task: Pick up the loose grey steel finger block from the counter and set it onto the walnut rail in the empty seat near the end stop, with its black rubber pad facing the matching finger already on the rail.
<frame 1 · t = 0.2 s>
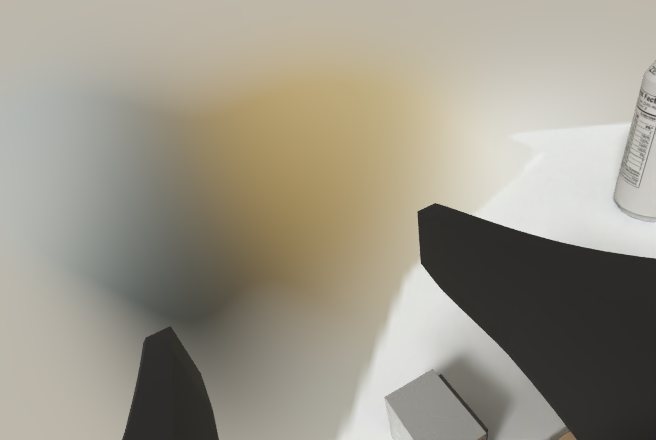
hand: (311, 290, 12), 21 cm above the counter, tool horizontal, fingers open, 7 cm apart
energy drink can: (647, 208, 43), on the counter
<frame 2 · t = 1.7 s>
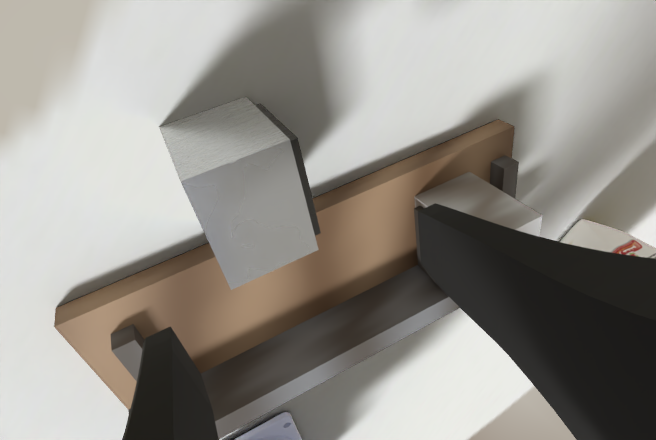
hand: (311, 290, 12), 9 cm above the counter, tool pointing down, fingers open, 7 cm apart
loose finger: (227, 161, 19), on the counter
juice carton: (560, 261, 36), on the counter
rail: (322, 258, 24), on the counter
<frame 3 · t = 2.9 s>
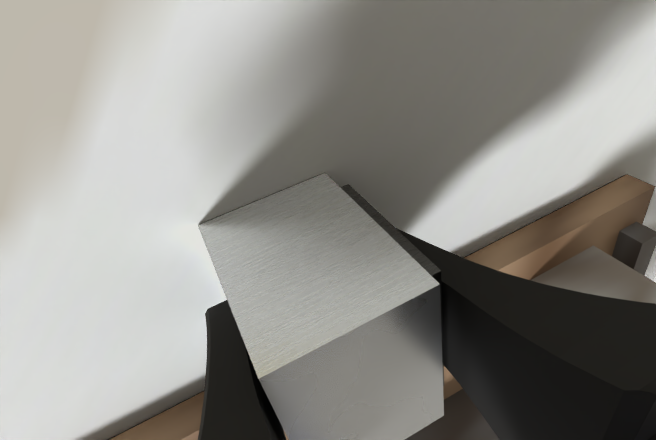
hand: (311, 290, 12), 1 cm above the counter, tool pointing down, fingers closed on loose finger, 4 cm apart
loose finger: (291, 260, 13), on the counter, touching gripper
rail: (398, 360, 18), on the counter
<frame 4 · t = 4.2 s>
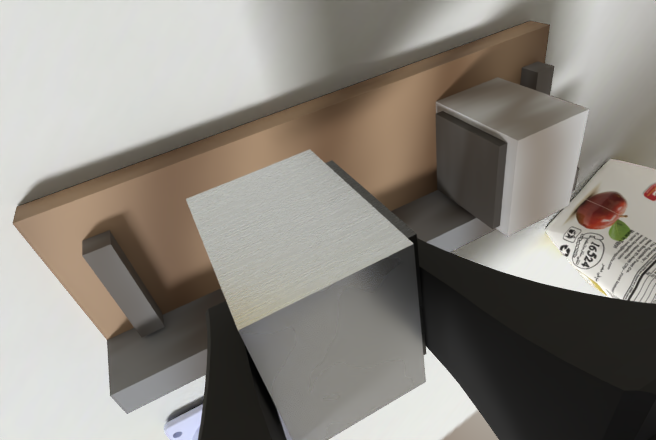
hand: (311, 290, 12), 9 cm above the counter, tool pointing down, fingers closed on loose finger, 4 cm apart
loose finger: (279, 237, 13), point 7 cm above the counter, touching gripper
juice carton: (584, 209, 33), on the counter
rail: (329, 176, 21), on the counter
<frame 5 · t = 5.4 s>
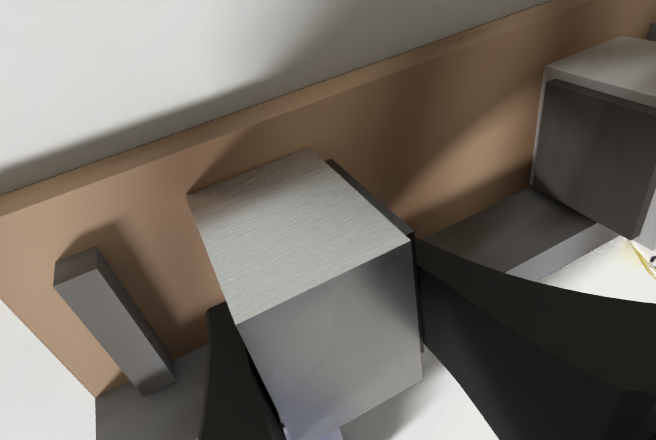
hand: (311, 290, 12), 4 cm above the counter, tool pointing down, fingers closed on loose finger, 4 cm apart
loose finger: (278, 234, 13), point 1 cm above the counter, touching gripper
rail: (395, 170, 16), on the counter
when the fingers open (3 cm above the counter, at t = 5.9 s): loose finger stays where it is, resting on rail.
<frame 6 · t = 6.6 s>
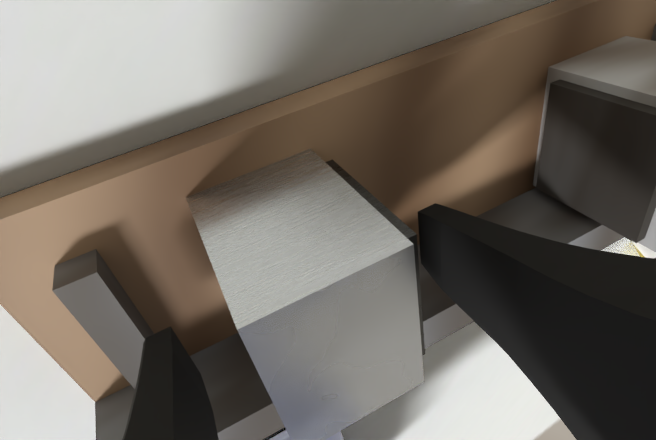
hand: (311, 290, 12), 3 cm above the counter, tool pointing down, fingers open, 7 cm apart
loose finger: (279, 236, 13), point 1 cm above the counter, touching rail
rail: (398, 171, 15), on the counter
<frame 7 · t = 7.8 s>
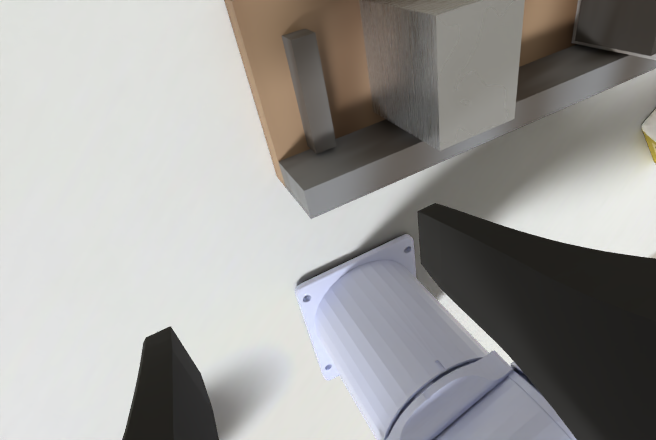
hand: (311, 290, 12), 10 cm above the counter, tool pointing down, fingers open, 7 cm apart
loose finger: (405, 46, 19), point 1 cm above the counter, touching rail
rail: (477, 20, 21), on the counter
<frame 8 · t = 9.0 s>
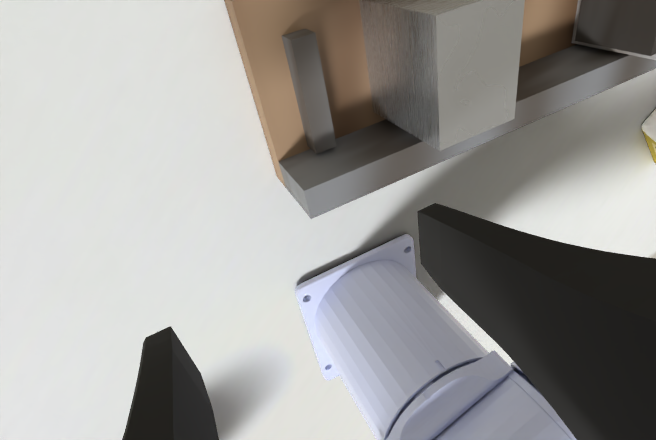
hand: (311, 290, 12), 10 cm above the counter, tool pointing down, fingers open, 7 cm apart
loose finger: (405, 46, 19), point 1 cm above the counter, touching rail
rail: (477, 20, 21), on the counter
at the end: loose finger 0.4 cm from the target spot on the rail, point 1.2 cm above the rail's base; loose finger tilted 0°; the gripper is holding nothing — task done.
